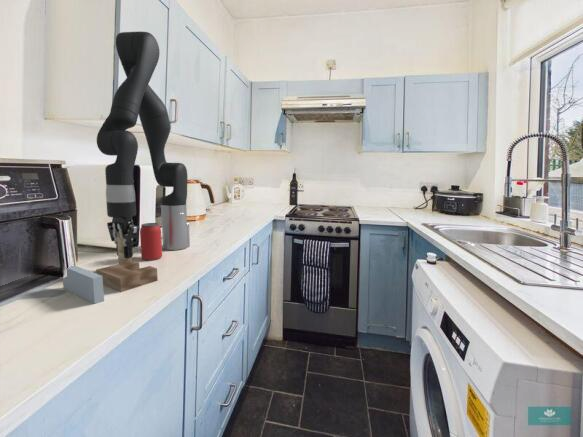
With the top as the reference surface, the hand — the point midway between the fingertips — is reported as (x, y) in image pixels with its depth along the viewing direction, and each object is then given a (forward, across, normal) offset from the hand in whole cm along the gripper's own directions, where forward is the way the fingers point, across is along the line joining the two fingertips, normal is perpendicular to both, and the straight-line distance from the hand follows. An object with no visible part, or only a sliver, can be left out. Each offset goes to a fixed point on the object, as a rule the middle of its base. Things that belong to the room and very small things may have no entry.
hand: (124, 256), depth 91 cm
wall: (+4, -10, +16) cm, 19 cm away
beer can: (+4, +5, -12) cm, 14 cm away
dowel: (+4, 0, 0) cm, 4 cm away
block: (+4, -10, +5) cm, 12 cm away
